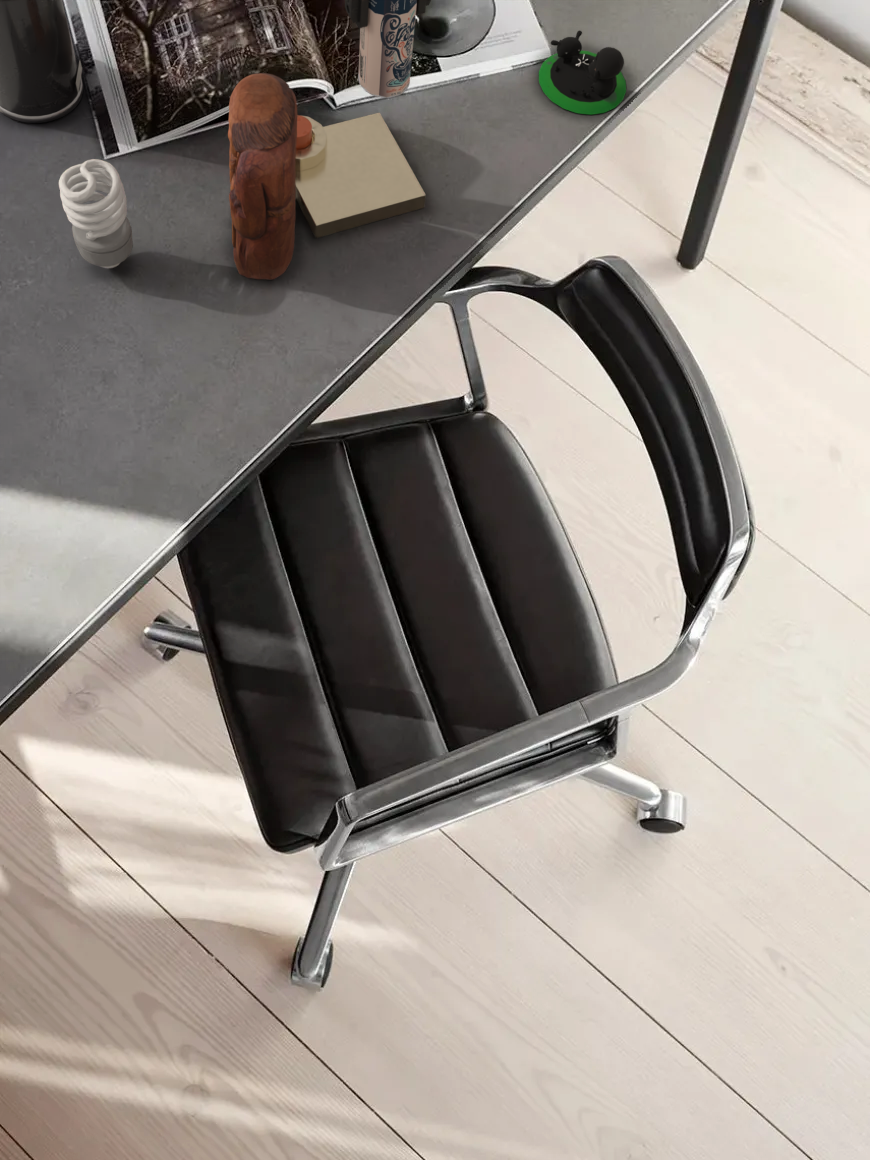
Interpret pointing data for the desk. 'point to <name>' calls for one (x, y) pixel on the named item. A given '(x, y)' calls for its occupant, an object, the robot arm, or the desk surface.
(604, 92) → the toy figurine
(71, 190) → the light bulb
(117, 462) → the desk surface
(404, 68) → the beer can
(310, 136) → the button
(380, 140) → the scale
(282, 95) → the wooden figurine
